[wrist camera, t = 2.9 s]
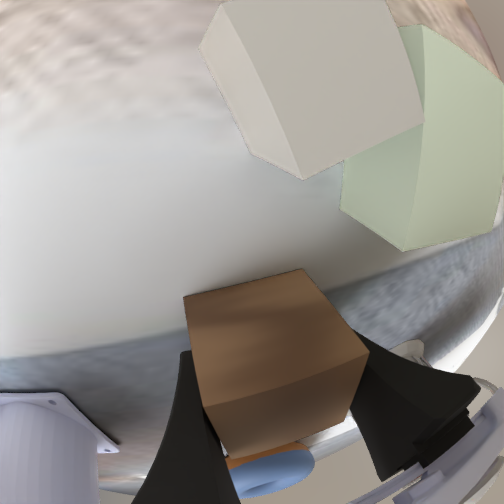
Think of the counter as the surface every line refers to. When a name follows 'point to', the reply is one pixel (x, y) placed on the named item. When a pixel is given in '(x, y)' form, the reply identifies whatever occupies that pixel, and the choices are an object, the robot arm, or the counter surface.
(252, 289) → the walnut cube
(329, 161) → the grey cube
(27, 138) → the counter surface
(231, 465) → the doughnut
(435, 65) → the sage block
